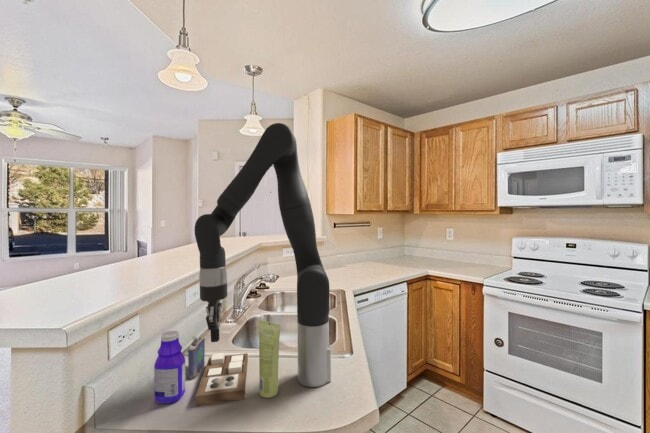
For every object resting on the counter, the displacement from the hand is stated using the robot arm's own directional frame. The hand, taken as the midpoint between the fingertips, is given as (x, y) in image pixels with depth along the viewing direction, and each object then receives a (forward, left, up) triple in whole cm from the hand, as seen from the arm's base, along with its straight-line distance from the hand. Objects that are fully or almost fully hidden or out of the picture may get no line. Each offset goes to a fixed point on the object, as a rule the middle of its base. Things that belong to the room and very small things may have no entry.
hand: (215, 340), depth 85 cm
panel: (-3, +1, -12) cm, 12 cm away
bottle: (+11, +6, -12) cm, 17 cm away
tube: (-15, +10, -12) cm, 22 cm away
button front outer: (0, 0, -12) cm, 12 cm away
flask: (+7, -7, -12) cm, 15 cm away
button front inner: (-6, 0, -10) cm, 12 cm away
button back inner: (-6, -6, -12) cm, 14 cm away
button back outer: (0, -6, -10) cm, 12 cm away
